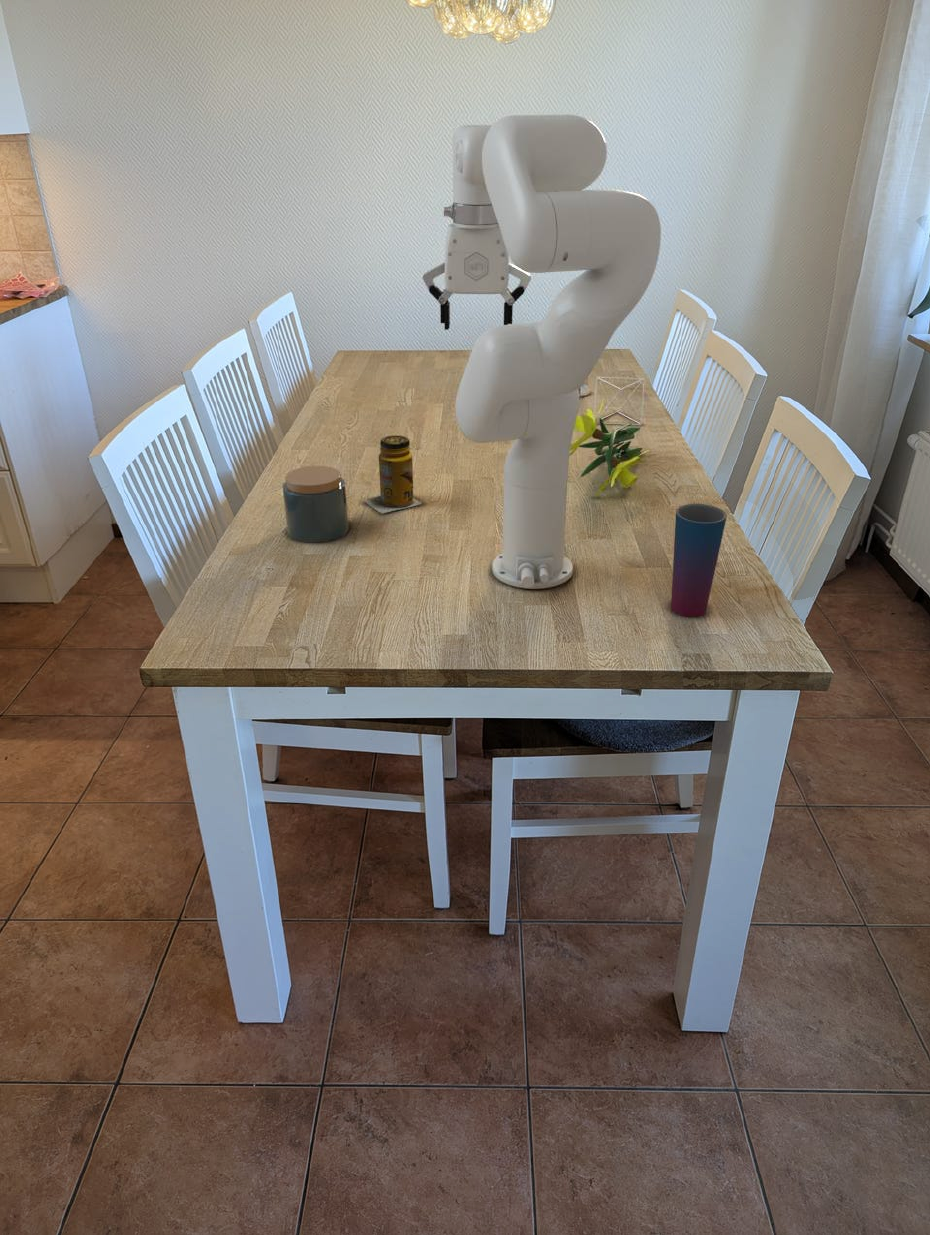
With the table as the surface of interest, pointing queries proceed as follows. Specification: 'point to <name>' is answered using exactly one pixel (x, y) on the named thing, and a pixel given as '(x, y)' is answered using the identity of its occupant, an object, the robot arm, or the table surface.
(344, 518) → the blue jar
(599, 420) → the geometric polyhedron
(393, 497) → the yellow coffee bottle
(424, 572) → the table surface
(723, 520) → the cup
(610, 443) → the daffodil flowers
